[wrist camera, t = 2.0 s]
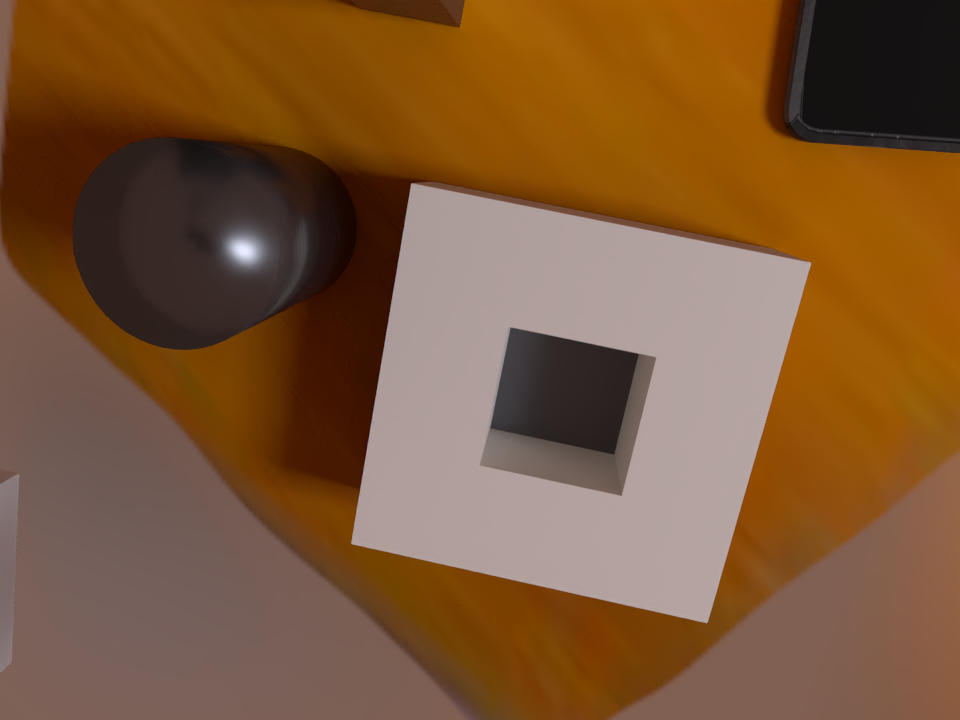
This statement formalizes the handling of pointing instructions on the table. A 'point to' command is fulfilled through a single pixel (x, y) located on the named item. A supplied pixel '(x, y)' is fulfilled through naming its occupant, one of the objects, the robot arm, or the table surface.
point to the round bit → (208, 237)
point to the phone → (876, 74)
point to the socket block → (572, 397)
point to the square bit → (418, 9)
